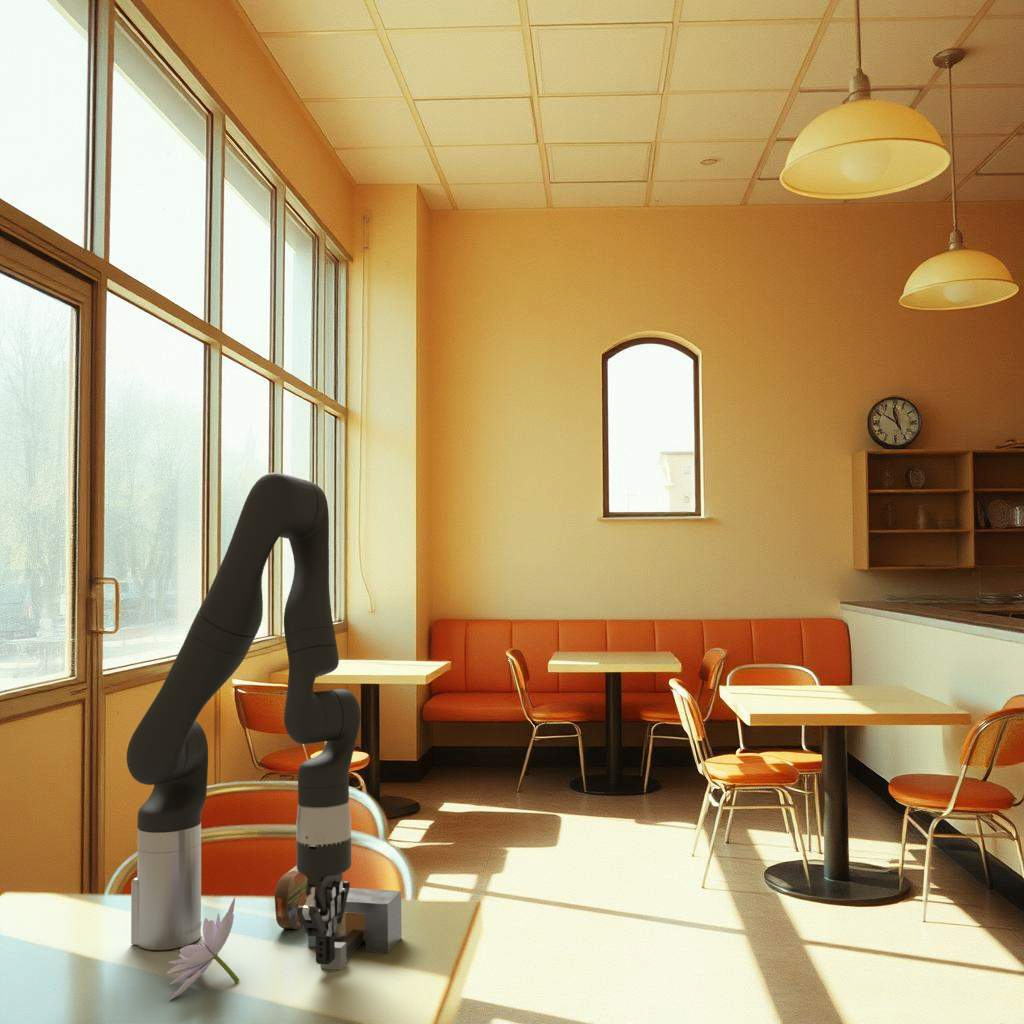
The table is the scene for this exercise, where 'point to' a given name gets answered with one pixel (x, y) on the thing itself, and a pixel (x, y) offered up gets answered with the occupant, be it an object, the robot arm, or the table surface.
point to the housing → (373, 918)
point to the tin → (290, 898)
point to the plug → (348, 940)
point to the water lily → (204, 951)
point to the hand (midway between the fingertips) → (325, 962)
